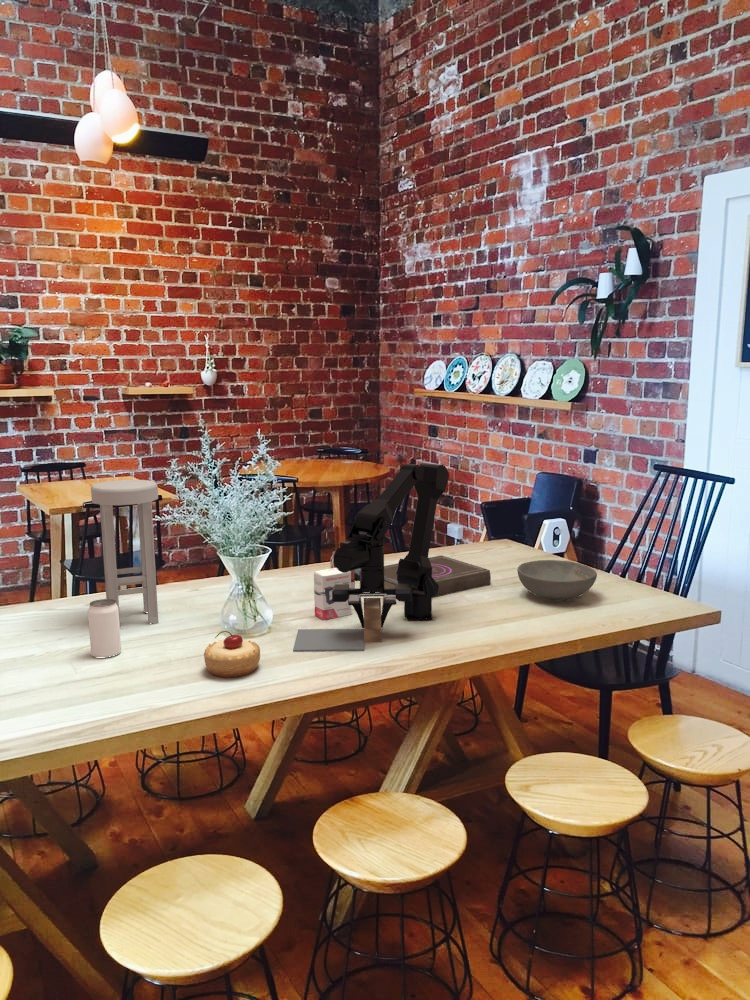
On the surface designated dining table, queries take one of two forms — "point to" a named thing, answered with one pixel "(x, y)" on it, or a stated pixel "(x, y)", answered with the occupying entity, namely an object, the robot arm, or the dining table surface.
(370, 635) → the slab
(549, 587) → the bowl
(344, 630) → the mat
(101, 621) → the can
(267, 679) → the dining table surface
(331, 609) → the ink box
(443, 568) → the book
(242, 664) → the pastry
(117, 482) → the stool
